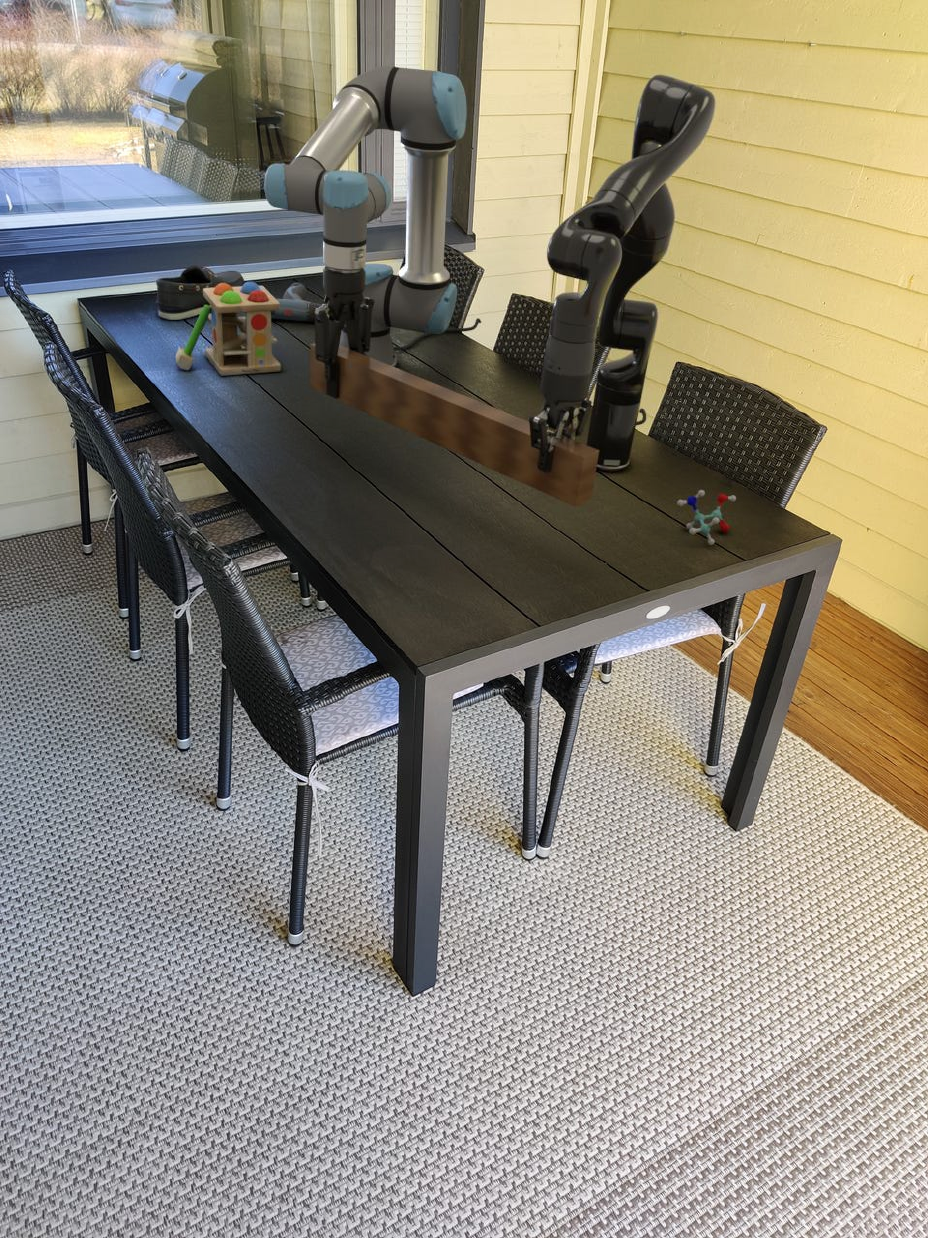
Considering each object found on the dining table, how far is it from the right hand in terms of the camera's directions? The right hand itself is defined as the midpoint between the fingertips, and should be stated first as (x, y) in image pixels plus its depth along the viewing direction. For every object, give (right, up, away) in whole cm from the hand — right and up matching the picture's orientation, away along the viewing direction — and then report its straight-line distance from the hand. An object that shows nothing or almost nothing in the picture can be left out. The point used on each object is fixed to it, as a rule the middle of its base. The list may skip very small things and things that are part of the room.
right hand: (553, 466), depth 159 cm
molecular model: (+29, -9, +22) cm, 37 cm away
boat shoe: (-85, +60, +106) cm, 149 cm away
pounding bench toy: (-71, +35, +71) cm, 106 cm away
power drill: (-58, +58, +108) cm, 135 cm away
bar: (-19, +7, +15) cm, 25 cm away
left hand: (-38, +18, +27) cm, 50 cm away
